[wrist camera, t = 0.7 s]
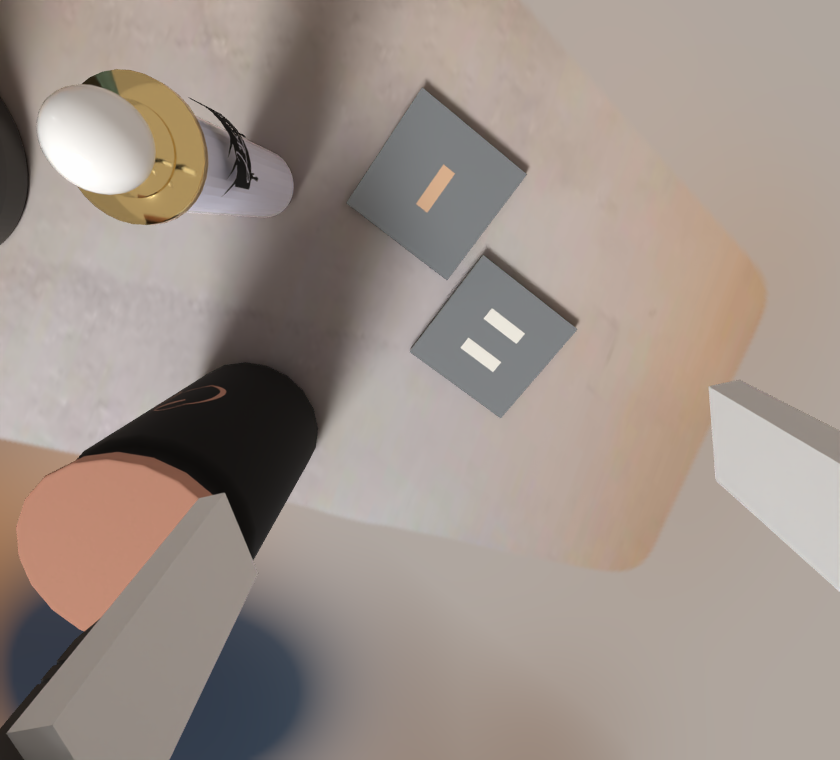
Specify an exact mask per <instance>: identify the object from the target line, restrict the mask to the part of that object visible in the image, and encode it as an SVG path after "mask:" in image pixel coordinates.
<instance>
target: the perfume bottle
mask: <svg viewBox="0 0 840 760" xmlns="http://www.w3.org/2000/svg"><path fill="white" fill-rule="evenodd" d="M188 98H189V97H188ZM190 99H191V98H190ZM192 100H193V99H192ZM194 101H195V100H194ZM196 102H197V101H196ZM197 103H199V102H197ZM199 104H201V103H199ZM201 105H203V104H201ZM203 106H205V105H203ZM205 107H206V108H208V107H207V106H205ZM208 109H209V110H210V111H211V112H212V113H213V114H214V115H215V116H216V117H217V118H218V119H219V120H220V121H221V123H222V124H223V126H224V127H225V129H226V130H225V129H223V128H221V127H218V126H216V125H214V124H212V123H210V122H208V121H206V120H203V119H201V118H199V117H197V116H195V115H194V113H193V112H192V110H191V108H190V107H189V106H188V104H187V103H186V102H185V101H184V100H183V99H182V98H181V97H180V96H179V95H178V94H177V93H176V92H174V91H173V90H172V89H171V88H169V87H168V86H167V85H165V84H163V83H161V82H159V81H157V80H155V79H154V78H152V77H150V76H148V75H146V74H143V73H139V72H135V71H132V70H118V69H115V70H110V71H104V72H101V73H99V74H96V75H94V76H92V77H90V78H89V79H87V80H86V81H85V82H84V83H82V84H78V85H71V86H66V87H63V88H61V89H59V90H57V91H55V92H54V93H52V94H51V95H50V96H49V97H47V99H46V100H45V101H44V103H43V104H42V106H41V108H40V110H39V113H38V117H37V136H38V141H39V144H40V147H41V149H42V151H43V153H44V155H45V157H46V158H47V160H48V161H49V163H50V164H51V165H52V166H53V168H54V169H55V170H56V171H57V172H58V173H59V174H60V175H61V176H62V177H64V178H65V179H67V180H68V181H69V182H71V183H73V184H74V185H76V186H78V188H79V189H80V190H81V192H82V193H83V195H84V196H85V197H86V198H87V199H88V200H89V201H90V202H91V203H92V204H93V205H94V206H96V207H97V208H98V209H100V210H101V211H103V212H104V213H106V214H107V215H109V216H111V217H113V218H115V219H118V220H120V221H123V222H127V223H131V224H142V225H156V224H162V223H167V222H169V221H172V220H174V219H177V218H178V217H180V216H181V215H183V214H184V213H201V214H216V215H231V216H246V217H261V218H268V217H273V216H275V215H278V214H279V213H281V212H282V211H283V210H284V209H285V208H286V207H287V206H288V204H289V203H290V201H291V198H292V195H293V189H294V185H293V177H292V174H291V171H290V169H289V167H288V166H287V164H286V162H285V161H284V160H283V159H282V158H281V157H280V156H278V155H277V154H276V153H274V152H272V151H270V150H268V149H265V148H263V147H261V146H259V145H257V144H255V143H253V142H251V141H248V140H246V139H244V138H242V137H241V136H243V137H245V136H244V135H243V134H240V133H239V132H238V131H237V129H236V128H235V127H234V126H233V125H232V124H231V123H230V121H229V120H226V118H225V117H222V116H224V115H221V114H220V113H218V112H216V113H215V111H214V110H212V109H210V108H208ZM220 116H221V117H222V118H221V117H220ZM226 122H227V123H228V124H229V126H230V127H229V126H228V125H227V124H226ZM231 128H232V129H233V130H232V129H231ZM235 129H236V130H235ZM232 132H233V133H232ZM235 133H236V134H235ZM238 134H239V135H238Z"/></svg>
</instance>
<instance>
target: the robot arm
mask: <svg viewBox="0 0 840 760" xmlns="http://www.w3.org/2000/svg"><path fill="white" fill-rule="evenodd" d="M27 183H28V180H27V164H26V157H25V153H24V148H23V145H22V141H21V138H20V135H19V132H18V130H17V127H16V125H15V123H14V120H13V118H12V116H11V114H10V113H9V111H8V109H7V107H6V105H5V104H4V102H3V101H2V99H1V98H0V245H1V244H2V243H3V242H4V241H5V240H6V239H7V238H8V237H9V235H10V234H11V233H12V231H13V230H14V228H15V227H16V225H17V223H18V221H19V219H20V217H21V214H22V211H23V208H24V205H25V200H26V194H27ZM709 397H710V410H711V424H712V436H713V450H714V464H715V476H716V481H717V482H718V483H719V484H720V485H722V486H723V487H724V488H725V489H726V490H727V491H728V492H729V493H730V494H732V495H733V496H734V497H735V498H736V499H737V500H738V501H739V502H741V504H743V505H744V506H745V507H746V508H747V509H748V510H749V511H750V512H752V513H753V514H754V515H755V516H756V517H757V518H758V519H759V520H760V521H761V522H763V523H764V524H765V525H766V526H767V527H768V528H769V529H771V530H772V531H773V532H774V533H775V534H776V535H777V536H778V537H779V538H780V539H781V540H783V541H784V542H785V543H786V544H787V545H788V546H789V547H790V548H791V549H793V550H794V551H795V552H796V553H797V554H798V555H799V556H800V557H802V558H803V559H804V560H805V561H806V562H807V563H808V564H809V565H810V566H811V567H813V568H814V569H815V570H816V571H817V572H818V573H819V574H820V575H822V576H823V577H824V578H825V579H826V580H827V581H828V582H829V583H830V584H831V585H833V586H834V587H835V588H836V589H837V590H838V591H839V592H840V431H839V430H837V429H835V428H833V427H831V426H830V425H828V424H826V423H824V422H822V421H820V420H818V419H816V418H814V417H812V416H810V415H808V414H806V413H804V412H802V411H800V410H798V409H796V408H794V407H792V406H790V405H788V404H786V403H784V402H782V401H780V400H778V399H777V398H775V397H773V396H771V395H769V394H767V393H765V392H763V391H761V390H759V389H757V388H755V387H753V386H751V385H749V384H747V383H745V382H743V381H741V380H736V381H731V382H727V383H722V384H718V385H713V386H709ZM257 575H258V571H257V569H256V566H255V564H254V562H253V559H252V557H251V554H250V552H249V550H248V547H247V545H246V542H245V540H244V537H243V535H242V533H241V530H240V528H239V525H238V523H237V521H236V518H235V516H234V513H233V511H232V509H231V506H230V504H229V501H228V499H227V497H226V494H225V493H220V494H216V495H211V496H207V497H202V498H199V499H198V500H197V501H196V502H195V504H194V505H193V506H192V507H191V509H190V510H189V511H188V512H187V513H186V515H185V516H184V517H183V518H182V520H181V521H180V522H179V523H178V524H177V526H176V527H175V528H174V529H173V531H172V532H171V533H170V534H169V535H168V537H167V538H166V539H165V540H164V542H163V543H162V544H161V545H160V546H159V548H158V549H157V550H156V551H155V552H154V554H153V555H152V556H151V557H150V559H149V560H148V561H147V562H146V563H145V565H144V566H143V567H142V568H141V570H140V571H139V572H138V573H137V574H136V576H135V577H134V578H133V579H132V581H131V582H130V583H129V584H128V585H127V587H126V588H125V589H124V590H123V592H122V593H121V594H120V595H119V596H118V598H117V599H116V600H115V601H114V603H113V604H112V605H111V606H110V607H109V609H108V610H107V611H106V612H105V613H104V615H103V616H102V617H101V618H100V619H99V620H97V621H96V622H95V623H94V624H93V625H92V626H90V627H89V628H88V629H87V630H86V631H84V632H83V633H82V634H81V635H80V636H79V637H78V638H76V639H75V640H74V641H73V643H72V644H71V645H70V646H69V647H68V648H67V650H66V651H65V652H64V653H63V655H62V656H61V657H60V658H59V659H58V660H57V665H54V666H52V668H51V669H50V670H49V671H48V672H47V673H46V675H45V676H44V677H43V678H42V679H41V684H38V685H37V686H36V687H35V688H34V689H33V690H32V691H31V693H30V694H29V695H28V696H27V697H26V699H25V700H24V701H23V702H22V704H21V705H20V706H19V707H18V708H17V709H16V710H15V712H14V713H13V714H12V715H11V716H10V718H9V719H8V720H7V721H6V722H5V724H4V725H3V726H2V727H1V728H0V760H169V759H170V757H171V755H172V753H173V750H174V749H175V747H176V745H177V742H178V740H179V738H180V736H181V734H182V732H183V730H184V728H185V726H186V724H187V721H188V719H189V717H190V715H191V713H192V711H193V709H194V707H195V704H196V703H197V701H198V698H199V696H200V694H201V692H202V690H203V688H204V686H205V684H206V682H207V680H208V677H209V675H210V673H211V671H212V669H213V667H214V665H215V663H216V661H217V658H218V656H219V655H220V652H221V650H222V648H223V646H224V644H225V642H226V640H227V638H228V636H229V634H230V631H231V629H232V627H233V625H234V623H235V621H236V619H237V617H238V615H239V613H240V610H241V608H242V606H243V604H244V602H245V600H246V598H247V596H248V593H249V591H250V590H251V587H252V585H253V583H254V581H255V579H256V577H257Z"/></svg>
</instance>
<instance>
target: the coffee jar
mask: <svg viewBox="0 0 840 760" xmlns="http://www.w3.org/2000/svg"><path fill="white" fill-rule="evenodd" d="M317 431H318V427H317V423H316V418H315V414H314V409H313V407H312V405H311V404H310V402H309V400H308V399H307V397H306V395H305V394H304V392H303V390H302V389H301V388H300V387H298V386H297V385H296V384H295V383H294V382H293V381H292V380H291V379H290V378H289V377H288V376H286V375H284V374H282V373H280V372H278V371H276V370H274V369H272V368H270V367H268V366H263V365H257V364H251V363H238V364H231V365H224V366H222V367H221V368H219V369H217V370H215V371H213V372H211V373H209V374H207V375H205V376H204V377H202V378H200V379H199V380H197V381H196V382H194V383H192V384H191V385H189V386H188V387H186V388H184V389H183V390H181V391H180V392H178V393H176V394H175V395H173V396H172V397H170V398H168V399H167V400H165V401H164V402H162V403H160V404H159V405H157V406H156V407H154V408H152V409H151V410H149V411H148V412H146V413H144V414H143V415H141V416H140V417H138V418H136V419H135V420H133V421H132V422H130V423H128V424H127V425H125V426H124V427H122V428H120V429H119V430H117V431H116V432H114V433H112V434H111V435H109V436H107V437H106V438H104V439H103V440H101V441H99V442H98V443H96V444H95V445H93V446H91V447H90V448H88V449H87V450H85V451H84V452H83V453H82V454H81V455H80V456H79V458H78V459H77V460H76V461H74V462H72V463H70V464H68V465H66V466H64V467H62V468H60V469H58V470H56V471H54V472H52V473H50V474H48V475H46V476H45V477H44V478H43V479H42V480H41V481H40V482H39V484H38V485H37V486H36V487H35V488H34V489H33V491H32V492H31V493H30V494H29V495H28V496H27V498H26V499H25V500H24V504H23V507H22V510H21V513H20V517H19V520H18V523H17V526H16V529H17V541H18V553H19V558H20V560H21V562H22V565H23V567H24V569H25V571H26V574H27V576H28V578H29V580H30V582H31V585H32V586H33V587H34V588H35V589H36V591H37V592H38V593H39V594H40V595H41V597H42V598H43V599H44V600H45V601H46V603H47V604H48V605H49V606H50V607H51V609H52V610H54V611H55V612H56V613H58V614H59V615H61V616H62V617H63V618H65V619H66V620H67V621H69V622H70V623H72V624H73V625H74V626H76V627H77V628H78V629H80V630H82V631H86V630H87V629H88V628H89V627H90V626H92V625H93V624H94V623H95V622H96V621H97V620H99V619H100V618H101V617H102V616H103V615H104V613H105V612H106V611H107V610H108V609H109V607H110V606H111V605H112V604H113V603H114V601H115V600H116V599H117V598H118V596H119V595H120V594H121V593H122V592H123V590H124V589H125V588H126V587H127V585H128V584H129V583H130V582H131V581H132V579H133V578H134V577H135V576H136V574H137V573H138V572H139V571H140V570H141V568H142V567H143V566H144V565H145V563H146V562H147V561H148V560H149V559H150V557H151V556H152V555H153V554H154V552H155V551H156V550H157V549H158V548H159V546H160V545H161V544H162V543H163V542H164V540H165V539H166V538H167V537H168V535H169V534H170V533H171V532H172V531H173V529H174V528H175V527H176V526H177V524H178V523H179V522H180V521H181V520H182V518H183V517H184V516H185V515H186V513H187V512H188V511H189V510H190V509H191V507H192V506H193V505H194V504H195V502H196V501H197V500H198V499H199V498H202V497H207V496H211V495H216V494H220V493H225V494H226V497H227V499H228V501H229V504H230V506H231V509H232V511H233V513H234V516H235V518H236V521H237V523H238V525H239V528H240V530H241V533H242V535H243V537H244V540H245V542H246V545H247V547H248V550H249V552H250V554H251V557H252V559H254V558H255V556H256V555H257V553H258V551H259V549H260V547H261V545H262V544H263V542H264V540H265V538H266V537H267V535H268V533H269V531H270V530H271V528H272V526H273V524H274V522H275V521H276V519H277V517H278V515H279V513H280V512H281V510H282V508H283V506H284V505H285V503H286V501H287V499H288V497H289V496H290V494H291V492H292V490H293V489H294V487H295V485H296V483H297V481H298V480H299V478H300V476H301V474H302V472H303V471H304V469H305V467H306V465H307V464H308V462H309V460H310V458H311V456H312V454H313V452H314V450H315V448H316V440H317Z"/></svg>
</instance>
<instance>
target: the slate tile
mask: <svg viewBox="0 0 840 760" xmlns="http://www.w3.org/2000/svg"><path fill="white" fill-rule="evenodd" d="M526 175H527V174H526V173H525V172H523V171H522V170H521V169H520V168H519V167H517V166H516V165H515V164H514V163H513V162H511V161H510V160H509V159H508V158H507V157H505V156H504V155H503V154H502V153H501V152H499V151H498V150H497V149H496V148H495V147H493V146H492V145H491V144H490V143H489V142H487V141H486V140H485V139H484V138H482V137H481V136H480V135H479V134H478V133H476V132H475V131H474V130H473V129H472V128H470V127H469V126H468V125H467V124H466V123H464V122H463V121H462V120H461V119H460V118H458V117H457V116H456V115H455V114H454V113H452V112H451V111H450V110H449V109H448V108H446V107H445V106H444V105H443V104H442V103H440V102H439V101H438V100H437V99H436V98H434V97H433V96H432V95H431V94H430V93H428V92H427V91H426V90H425V89H424V88H422V89H421V90H420V92H419V93H418V95H417V96H416V98H415V99H414V101H413V102H412V104H411V105H410V107H409V108H408V110H407V111H406V113H405V114H404V116H403V117H402V119H401V121H400V122H399V124H398V125H397V127H396V128H395V130H394V131H393V133H392V134H391V136H390V137H389V139H388V140H387V142H386V143H385V145H384V146H383V148H382V149H381V151H380V152H379V154H378V156H377V157H376V159H375V160H374V162H373V163H372V165H371V166H370V168H369V169H368V171H367V172H366V174H365V175H364V177H363V178H362V180H361V181H360V183H359V184H358V186H357V188H356V189H355V191H354V192H353V194H352V195H351V197H350V198H349V200H348V201H347V204H348V205H349V206H351V207H352V208H353V209H355V210H356V211H357V212H359V213H360V214H361V215H362V216H364V217H365V218H366V219H368V220H369V221H370V222H372V223H373V224H374V225H375V226H377V227H378V228H379V229H381V230H382V231H383V232H385V233H386V234H387V235H389V236H390V237H391V238H392V239H394V240H395V241H396V242H398V243H399V244H400V245H402V246H403V247H404V248H405V249H407V250H408V251H409V252H411V253H412V254H413V255H415V256H416V257H417V258H418V259H420V260H421V261H422V262H424V263H425V264H426V265H428V266H429V267H430V268H431V269H433V270H434V271H435V272H437V273H438V274H439V275H441V276H442V277H443V278H444V279H446V280H448V279H449V277H450V276H451V275H452V273H453V272H454V271H455V269H456V268H457V267H458V265H459V264H460V263H461V261H462V260H463V259H464V257H465V256H466V255H467V253H468V252H469V251H470V249H471V248H472V247H473V245H474V244H475V243H476V241H477V240H478V239H479V237H480V236H481V235H482V233H483V232H484V231H485V229H486V228H487V227H488V225H489V224H490V223H491V221H492V220H493V219H494V217H495V216H496V215H497V213H498V212H499V211H500V209H501V208H502V207H503V205H504V204H505V203H506V201H507V200H508V199H509V197H510V196H511V195H512V193H513V192H514V191H515V190H516V188H517V187H518V186H519V184H520V183H521V182H522V180H523V179H524V178H525V176H526Z"/></svg>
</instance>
